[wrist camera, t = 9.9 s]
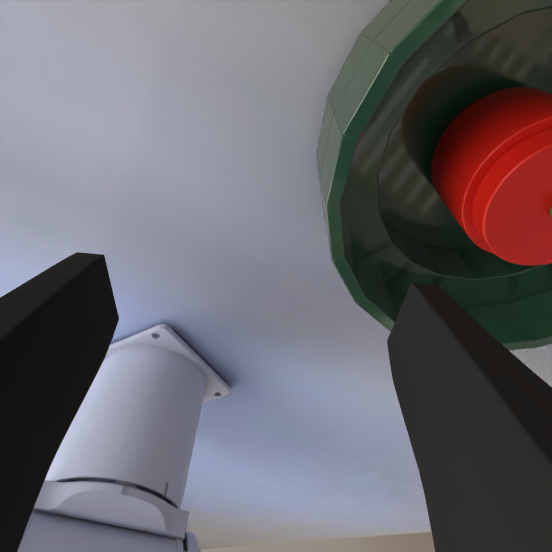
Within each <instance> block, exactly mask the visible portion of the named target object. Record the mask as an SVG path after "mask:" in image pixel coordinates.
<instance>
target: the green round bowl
mask: <svg viewBox="0 0 552 552" xmlns="http://www.w3.org/2000/svg"><path fill="white" fill-rule="evenodd" d="M513 87H531V88H536V89H539V90H543V91H545V92H548V93H550V94H552V0H390V1H389V3H388V4H387V5H386V6H385V7H384V8H383V9H382V10H381V11H380V12H379V13H378V15H377V16H376V17H375V18H374V19H373V20H372V21H371V22H370V23H369V24H368V25H367V27H366V28H365V29H364V30H363V31H362V32H361V34H360V35H359V37H358V38H357V40H356V42H355V44H354V46H353V48H352V50H351V52H350V54H349V56H348V58H347V60H346V62H345V64H344V65H343V67H342V69H341V71H340V73H339V75H338V77H337V79H336V81H335V83H334V85H333V87H332V89H331V91H330V93H329V94H328V96H329V97H328V98H327V102H326V107H325V112H324V117H323V122H322V127H321V132H320V138H319V143H318V148H317V163H318V171H319V179H320V187H321V196H322V203H323V209H324V215H325V221H326V227H327V233H328V240H329V246H330V252H331V258H332V262H333V263H334V265H335V267H336V269H337V271H338V273H339V274H340V276H341V278H342V280H343V282H344V283H345V285H346V287H347V289H348V291H349V293H350V294H351V296H352V298H353V300H354V301H355V303H356V304H358V305H359V306H360V307H361V308H362V309H364V310H365V311H366V312H367V313H369V314H370V315H371V316H372V317H373V318H375V319H376V320H377V321H378V322H380V323H381V324H382V325H383V326H384V327H386V328H387V329H388V330H390V331H392V328H393V326H394V324H395V321H396V319H397V316H398V314H399V311H400V309H401V307H402V304H403V302H404V299H405V297H406V294H407V292H408V290H409V287H410V285H411V283H421V284H432V285H437V286H439V287H440V288H441V289H442V290H443V291H445V292H446V293H447V294H448V295H449V296H450V297H451V298H452V299H454V300H455V301H456V302H457V303H458V304H459V305H460V306H461V307H462V308H463V309H464V310H465V311H466V312H468V313H469V314H470V315H471V316H472V317H473V318H474V319H475V320H476V321H477V322H478V323H479V324H480V325H481V326H482V327H484V328H485V329H486V330H487V331H488V332H489V333H490V334H491V335H492V336H493V337H494V338H495V339H497V340H498V341H499V342H500V343H501V344H502V345H503V346H504V347H505V348H506V349H507V350H516V349H526V348H536V347H541V346H544V345H548V344H552V263H550V264H544V265H519V264H514V263H511V262H508V261H505V260H503V259H501V258H499V257H498V256H496V255H495V254H493V253H490V252H487V251H485V250H483V249H482V248H480V247H478V246H477V245H476V244H475V243H473V241H472V240H471V239H470V238H469V237H468V235H467V234H466V233H465V231H464V230H463V229H462V227H461V226H460V224H459V223H458V222H457V220H456V219H455V218H454V216H453V215H452V213H451V212H450V211H449V209H448V208H447V207H446V205H445V204H444V203H443V201H442V200H441V198H440V197H439V196H438V194H437V192H436V191H435V188H434V186H433V182H432V178H431V164H432V159H433V154H434V151H435V148H436V146H437V144H438V142H439V140H440V138H441V136H442V134H443V133H444V131H445V130H446V128H447V127H448V126H449V125H450V123H451V122H452V121H453V120H454V119H455V118H456V117H457V116H458V115H459V114H460V113H461V112H462V111H463V110H464V109H466V108H467V107H468V106H470V105H471V104H472V103H474V102H475V101H477V100H479V99H481V98H482V97H484V96H486V95H489V94H491V93H493V92H496V91H499V90H503V89H507V88H513Z"/></svg>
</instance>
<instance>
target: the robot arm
mask: <svg viewBox="0 0 552 552" xmlns="http://www.w3.org/2000/svg"><path fill="white" fill-rule="evenodd" d="M118 320H119V317H118V313H117V308H116V304H115V300H114V296H113V291H112V287H111V283H110V279H109V274H108V270H107V266H106V261H105V257H104V255H100V254H89V253H78V252H77V253H75V254H73V255H71V256H69V257H68V258H66V259H64V260H62V261H61V262H59V263H57V264H55V265H54V266H52V267H50V268H49V269H47V270H45V271H44V272H42V273H40V274H39V275H37V276H36V277H34V278H32V279H31V280H29V281H27V282H26V283H24V284H22V285H21V286H19V287H17V288H16V289H14V290H12V291H11V292H9V293H7V294H6V295H4V296H2V297H1V298H0V552H201V551H200V548H199V546H198V542H197V539H196V537H195V535H194V534H193V533H191V532H187V531H186V526H187V521H188V515H189V512H188V511H185V510H181V504H182V499H183V494H184V490H185V485H186V480H187V475H188V470H189V465H190V460H191V456H192V451H193V446H194V441H195V436H196V431H197V426H198V422H199V417H200V412H201V407H202V404H203V403H206V402H209V401H212V400H215V399H218V398H222V397H225V396H228V395H229V394H230V390H231V388H230V387H229V386H228V385H227V384H226V383H225V382H224V381H223V380H222V379H221V378H220V377H219V376H218V375H217V374H216V373H215V372H214V371H213V370H212V369H211V368H210V367H209V366H208V365H207V364H206V363H205V362H204V361H203V360H202V359H201V358H200V357H199V356H198V355H197V354H196V353H195V352H194V351H193V350H192V349H191V348H190V347H189V346H188V345H187V344H186V343H185V342H184V341H183V340H182V339H181V338H180V337H179V336H178V335H177V334H176V333H175V332H174V331H173V330H172V329H171V328H170V327H169V326H167V325H165V324H160V325H157V326H154V327H152V328H149V329H147V330H145V331H142V332H140V333H137V334H135V335H133V336H130V337H128V338H125V339H123V340H121V341H118V342H116V343H113V344H111V345H110V343H111V341H112V338H113V335H114V332H115V329H116V326H117V323H118ZM155 333H156V334H155ZM387 343H388V351H389V359H390V365H391V371H392V377H393V382H394V386H395V389H396V393H397V396H398V400H399V403H400V407H401V411H402V414H403V417H404V421H405V424H406V428H407V431H408V435H409V438H410V441H411V445H412V448H413V452H414V455H415V459H416V462H417V465H418V469H419V473H420V477H421V481H422V485H423V489H424V493H425V498H426V504H427V509H428V514H429V520H430V525H431V530H432V535H433V541H434V547H435V552H552V387H550V386H549V385H548V384H547V383H546V382H544V381H543V380H542V379H541V378H540V377H538V376H537V375H536V374H535V373H534V372H532V371H531V370H530V369H529V368H528V367H527V366H526V365H524V364H523V363H522V362H521V361H520V360H519V359H518V358H516V357H515V356H514V355H513V354H512V353H511V352H510V351H509V350H507V349H506V348H505V347H504V346H503V345H502V344H501V343H500V342H499V341H498V340H497V339H495V338H494V337H493V336H492V335H491V334H490V333H489V332H488V331H487V330H486V329H485V328H484V327H482V326H481V325H480V324H479V323H478V322H477V321H476V320H475V319H474V318H473V317H472V316H471V315H470V314H469V313H468V312H466V311H465V310H464V309H463V308H462V307H461V306H460V305H459V304H458V303H457V302H456V301H455V300H454V299H452V298H451V297H450V296H449V295H448V294H447V293H446V292H445V291H443V290H442V289H441V288H440V287H439V286H437V285H432V284H421V283H411V285H410V287H409V290H408V292H407V294H406V297H405V299H404V302H403V304H402V307H401V309H400V311H399V314H398V316H397V319H396V321H395V324H394V326H393V328H392V331H391V333H390V336H389V338H388V340H387Z"/></svg>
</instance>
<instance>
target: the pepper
mask: <svg viewBox="0 0 552 552" xmlns="http://www.w3.org/2000/svg"><path fill="white" fill-rule="evenodd" d="M431 178H432V182H433V186H434V188H435V191H436V192H437V194H438V196H439V197H440V198H441V200H442V201H443V203H444V204H445V205H446V207H447V208H448V209H449V211H450V212H451V213H452V215H453V216H454V218H455V219H456V220H457V222H458V223H459V224H460V226H461V227H462V229H463V230H464V231H465V233H466V234H467V235H468V237H469V238H470V239H471V240H472V241H473V243H475V244H476V245H477V246H478V247H480V248H482V249H483V250H485V251H487V252H490V253H493V254H495V255H496V256H498V257H499V258H501V259H503V260H505V261H508V262H511V263H514V264H519V265H544V264H550V263H552V94H550V93H548V92H545V91H543V90H539V89H536V88H531V87H513V88H507V89H503V90H499V91H496V92H493V93H491V94H489V95H486V96H484V97H482V98H481V99H479V100H477V101H475V102H474V103H472V104H471V105H470V106H468V107H467V108H466V109H464V110H463V111H462V112H461V113H460V114H459V115H458V116H457V117H456V118H455V119H454V120H453V121H452V122H451V123H450V125H449V126H448V127H447V128H446V130H445V131H444V133H443V134H442V136H441V138H440V140H439V142H438V144H437V146H436V148H435V151H434V154H433V159H432V164H431Z"/></svg>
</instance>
